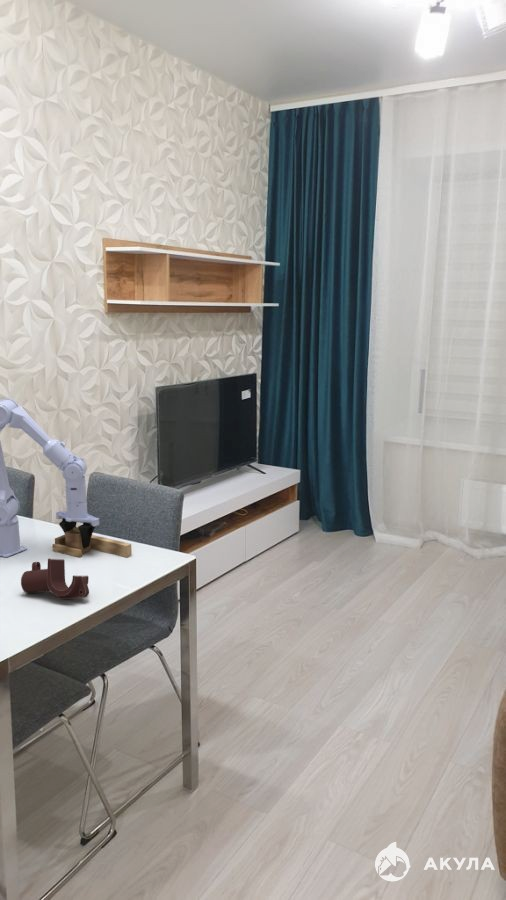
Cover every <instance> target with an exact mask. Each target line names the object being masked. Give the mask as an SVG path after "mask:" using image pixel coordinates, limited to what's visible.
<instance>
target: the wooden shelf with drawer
mask: <svg viewBox="0 0 506 900" xmlns="http://www.w3.org/2000/svg"><path fill="white" fill-rule="evenodd" d="M91 550H95V551H99V552H102V553H108V554H110V555H114V554H115V556H119V557H124V558H129V557H132V554H133V553H132V543H129V542H125V541H121V540H116V539H113V538H109V537H108V538H107V537H104V536H98V535H94V534H92V536H91ZM52 552H55V553H60V554H63V555H68V556H71V557H76V558H78V559H79V558H82V557H83V554H82V550H80V549H76V548H72V547H68V546H66V541H65V534H63V535H60V536H57V537H55V538H54V543H53V544H52Z"/></svg>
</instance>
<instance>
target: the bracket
mask: <svg viewBox="0 0 506 900" xmlns="http://www.w3.org/2000/svg"><path fill="white" fill-rule="evenodd" d="M65 563H66V562H65V558H50V557H49V558H47V568H42V569H41V562H40V561H34V562H32V564H31V570H25V571H24V572H23V573H22V575H21V578H20V585H21V588H22V591H23V592H24V593H26V594H35V593H44V592H45V593H46V592H50V593H52V594H53V595H55V596H56V597H57V598H58V599H60V600H68V599H79V598H80V599H81V598H87V597H88V596H89V595H90V589H89V586H88V584H89V575H77V574H76V575H72V580H71V583H70V585H69V586H68V584H67V582H66V568H65V567H66V566H65Z"/></svg>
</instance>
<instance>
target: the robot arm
mask: <svg viewBox="0 0 506 900" xmlns="http://www.w3.org/2000/svg"><path fill="white" fill-rule="evenodd" d="M8 424H9V425H8ZM7 425H8V428H12V429H19V430H20V429H21V430H22V431H23V432H24V433H25V434H27V436H29V437H30V438H31V439H32V440H33V441H34V442H36V443H37V444H38V445H39V446H41V448H42V453H43V456H45V457H46V458H47V459H48V460H49V461H50V462H51V463H52V464H53V465H54V466H55V467H56V468H58V469H59V470H60V471H62V472H61V474H62V477H63V479H64V481H65V485H64V487H65V500H66V501H65V502H66V505H65V506H66V511H65V510H59V511H56V512H55V516H56V517H55V518H56V520H61V521H60V522H59V523H58V526H59V527H60V529H62V531H63V534H65V532H67V531H70V530H72V529H73V528H74V527H78V529H79V531H80V534H81V538H82V545H83V548H87V547H89V545H90V540H91V536H92V535H93V533H94V531H95V529H96V527H97V526H99V525H100V518H99V517H95V516H93V515H91V514H89V513H88V502H87V499H88V498H87V484H86V476H85V475H86V472H87V471H88V470H87V469H88V467H87V466H88V465H87V463H86V461H84V459H83V458H81V457H78V456H79V455H77V454H73V452H72V451H71V450H69V448H68V447H66V443H65V442H64V441H63V440H62V441H60V440H59V439H52V438H51V437H50V436H49V435H48V434H47V433H46V431H45V430H44V429H42V427H41V426H40V425H39V424H38V423H37V422H36V421H35V420H34V419H33V418H32V417H31V416H30V415H29V414H28V412H27V411H26V410H25V409H24V407H22V406H21V405H19V404H18V403H17V402H16V401H15V400H14V399H11V398H4V399H2V400H0V433H1V432H2V431H3V430H4V429H5V427H6V426H7ZM1 442H2V441H0V557H3V558H8V557H11V556H14V555H16V554H18V553H21V552H23V551H27V549H28V547H26V546H22V545H21V538H20V525H19V517H18V515H17V514H18V513H19V511H20V508H21V505H20V504H21V503H20V501H19V500H18V498H17V497H16V496H15V492H14V490H13V489H12V487H11V486H10V482H9V476H8V472H7V467H6V463H5V458H4V453H3V446H2V443H1ZM77 523H80V524H81V525H78V526H77Z"/></svg>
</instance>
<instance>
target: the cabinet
mask: <svg viewBox="0 0 506 900" xmlns="http://www.w3.org/2000/svg"><path fill="white" fill-rule="evenodd" d="M64 535H65V541H66V546H68V547H72V548H76V549H80V550H82V555H83V554H85V553H87V552H90V551H91V550H92V549H91V540H90V545H89V547H87V548H83V545H82V538H81V534H80V531H79V529H78V526H76V527H74V528H73V529H72V530H70V531H67V532H65V533H64Z"/></svg>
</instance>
